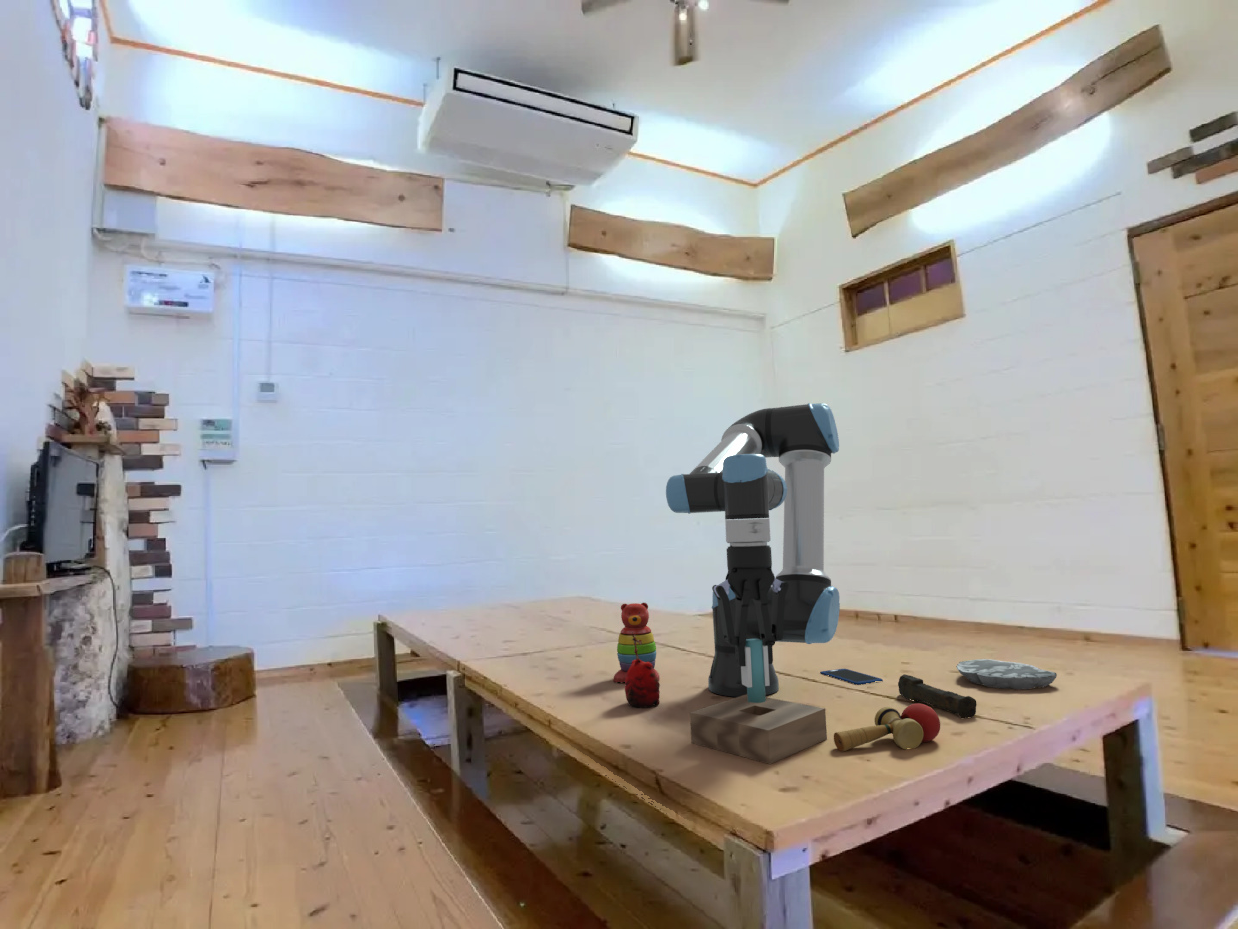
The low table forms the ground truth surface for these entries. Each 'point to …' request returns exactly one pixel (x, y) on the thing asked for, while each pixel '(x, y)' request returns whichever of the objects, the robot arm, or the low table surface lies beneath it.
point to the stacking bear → (634, 623)
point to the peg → (756, 672)
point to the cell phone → (851, 676)
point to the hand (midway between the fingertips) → (755, 684)
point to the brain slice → (1005, 674)
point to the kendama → (894, 728)
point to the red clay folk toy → (641, 682)
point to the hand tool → (936, 696)
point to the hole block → (758, 728)
